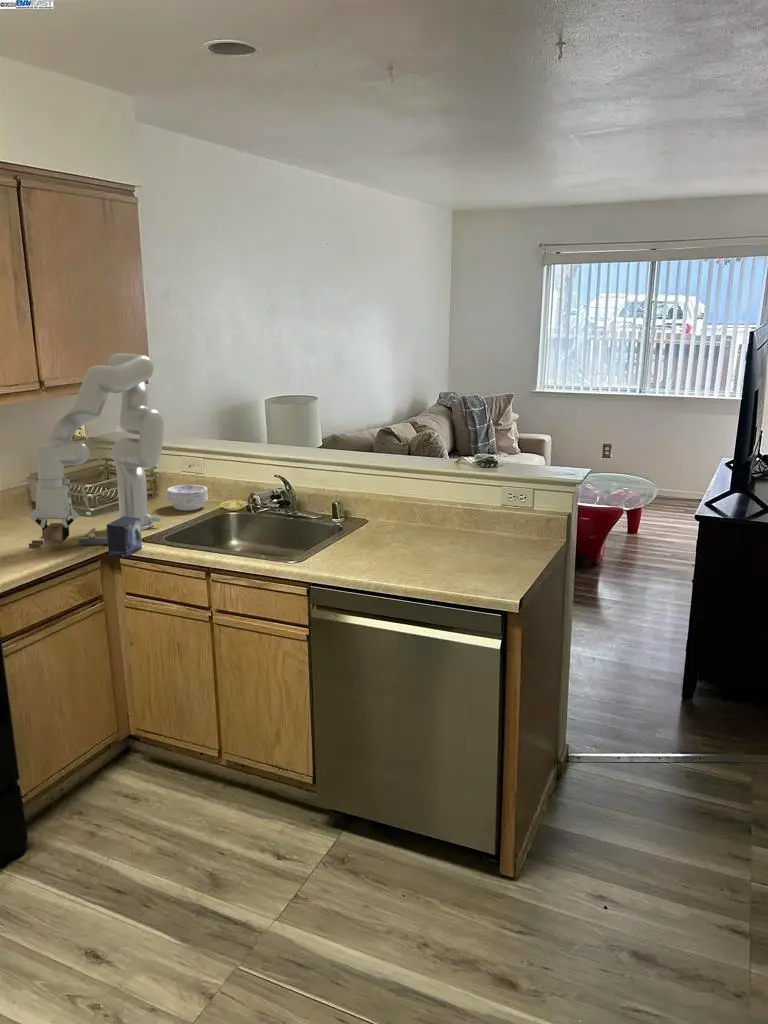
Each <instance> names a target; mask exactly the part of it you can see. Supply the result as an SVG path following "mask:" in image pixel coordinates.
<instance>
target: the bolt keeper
mask: <svg viewBox="0 0 768 1024" xmlns="http://www.w3.org/2000/svg"><path fill="white" fill-rule="evenodd" d="M43 543H44V539H37V540H35V539H34V540H33V539H32V540H31V543H28V548H41V546H42V545H44V544H43Z"/></svg>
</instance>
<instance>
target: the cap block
mask: <svg viewBox="0 0 768 1024" xmlns="http://www.w3.org/2000/svg"><path fill="white" fill-rule="evenodd" d="M43 534H44V538H43V542H44V544H43V545H62V544H63V543H64V541H65V540H64V539H63V523H62V522H51V523H50V524H49V525H48V527H47V528H46V529H45V530H44V531H43V533H42V535H43Z"/></svg>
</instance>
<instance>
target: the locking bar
mask: <svg viewBox="0 0 768 1024" xmlns="http://www.w3.org/2000/svg"><path fill="white" fill-rule="evenodd" d="M78 545H79V546H87V545H90V546H91V545H95V546H97V545H108V539H107V536H96V534H95V533H94V534H89V537H88V536H87V537H86V536H85V537H84V536H82V537H80V536H79V538H78Z"/></svg>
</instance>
